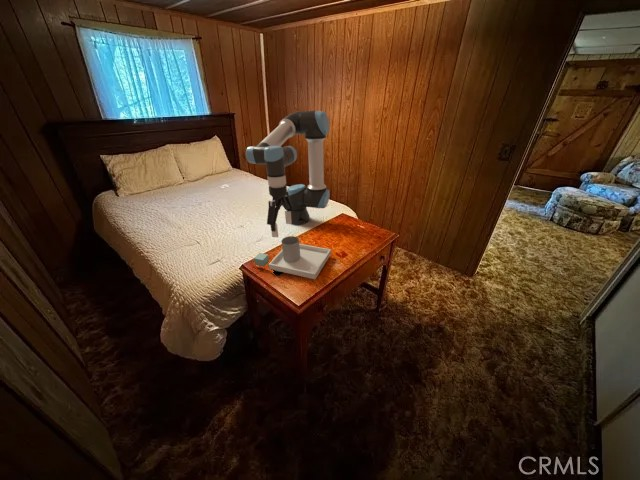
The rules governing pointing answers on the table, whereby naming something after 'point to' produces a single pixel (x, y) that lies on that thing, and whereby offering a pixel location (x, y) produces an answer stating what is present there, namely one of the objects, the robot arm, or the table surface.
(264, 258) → the block
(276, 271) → the smartphone
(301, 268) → the shallow white dish
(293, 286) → the table surface
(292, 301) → the table surface
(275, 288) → the table surface
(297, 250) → the cup
